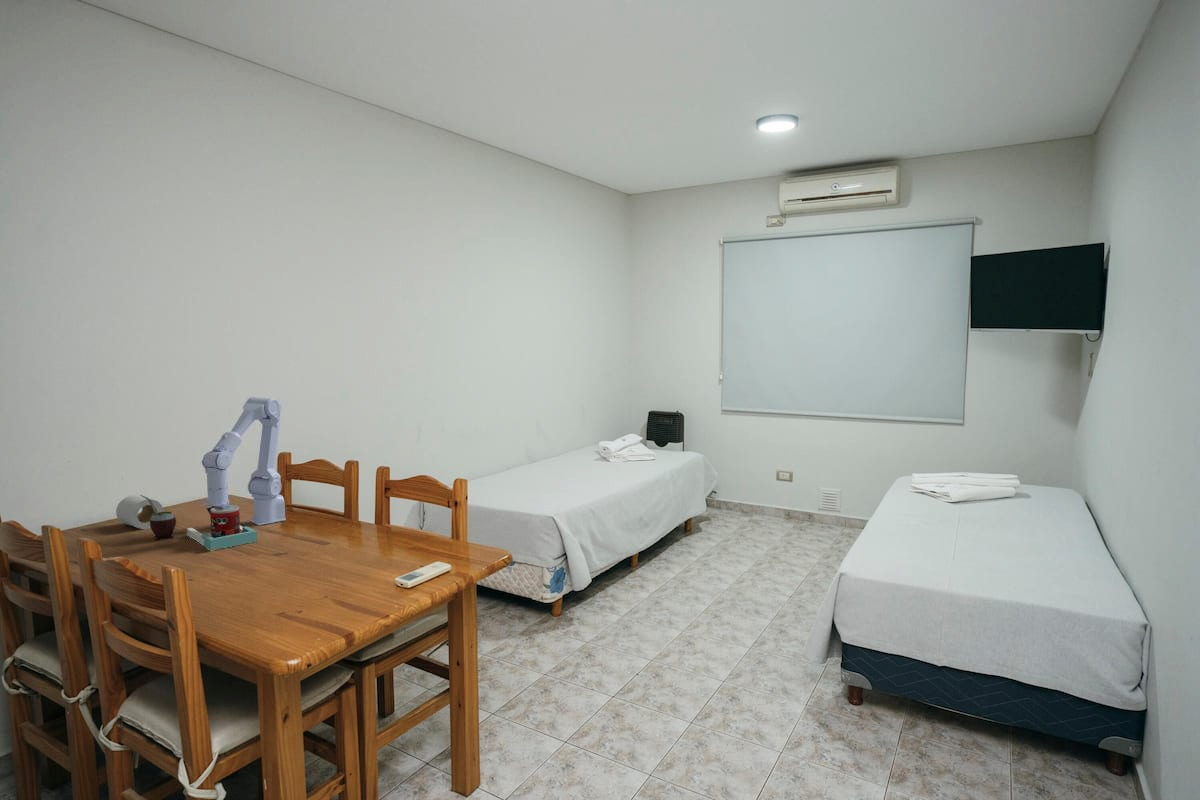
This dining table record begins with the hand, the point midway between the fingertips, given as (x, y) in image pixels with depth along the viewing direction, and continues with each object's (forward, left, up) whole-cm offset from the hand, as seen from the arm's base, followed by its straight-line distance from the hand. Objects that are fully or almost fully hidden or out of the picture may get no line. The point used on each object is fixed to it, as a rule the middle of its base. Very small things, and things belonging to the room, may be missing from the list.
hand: (219, 528), depth 216 cm
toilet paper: (+14, -32, -3) cm, 35 cm away
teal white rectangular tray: (0, +2, -3) cm, 4 cm away
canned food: (0, +6, -3) cm, 7 cm away
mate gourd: (+13, -12, -3) cm, 18 cm away
